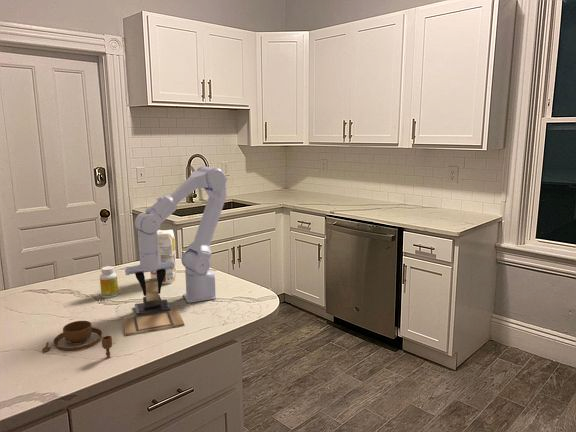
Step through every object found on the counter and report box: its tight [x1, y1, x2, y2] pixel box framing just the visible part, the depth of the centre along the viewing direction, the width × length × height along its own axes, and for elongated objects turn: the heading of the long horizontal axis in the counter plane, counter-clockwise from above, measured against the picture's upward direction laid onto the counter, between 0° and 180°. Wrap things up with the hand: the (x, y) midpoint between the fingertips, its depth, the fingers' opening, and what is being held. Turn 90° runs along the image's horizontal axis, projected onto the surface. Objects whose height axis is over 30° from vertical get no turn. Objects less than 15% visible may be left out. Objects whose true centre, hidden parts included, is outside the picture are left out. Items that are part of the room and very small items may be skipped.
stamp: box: [142, 277, 162, 307], centre depth 139 cm, size 5×5×8 cm
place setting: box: [41, 320, 115, 360], centre depth 116 cm, size 18×20×6 cm
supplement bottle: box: [99, 265, 119, 299], centre depth 151 cm, size 5×5×10 cm
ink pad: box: [134, 299, 172, 316], centre depth 140 cm, size 10×8×1 cm
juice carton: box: [149, 229, 177, 285], centre depth 164 cm, size 8×9×19 cm
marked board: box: [122, 309, 185, 337], centre depth 131 cm, size 16×11×1 cm
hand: (151, 293), depth 140 cm, fingers closed on stamp, 4 cm apart
